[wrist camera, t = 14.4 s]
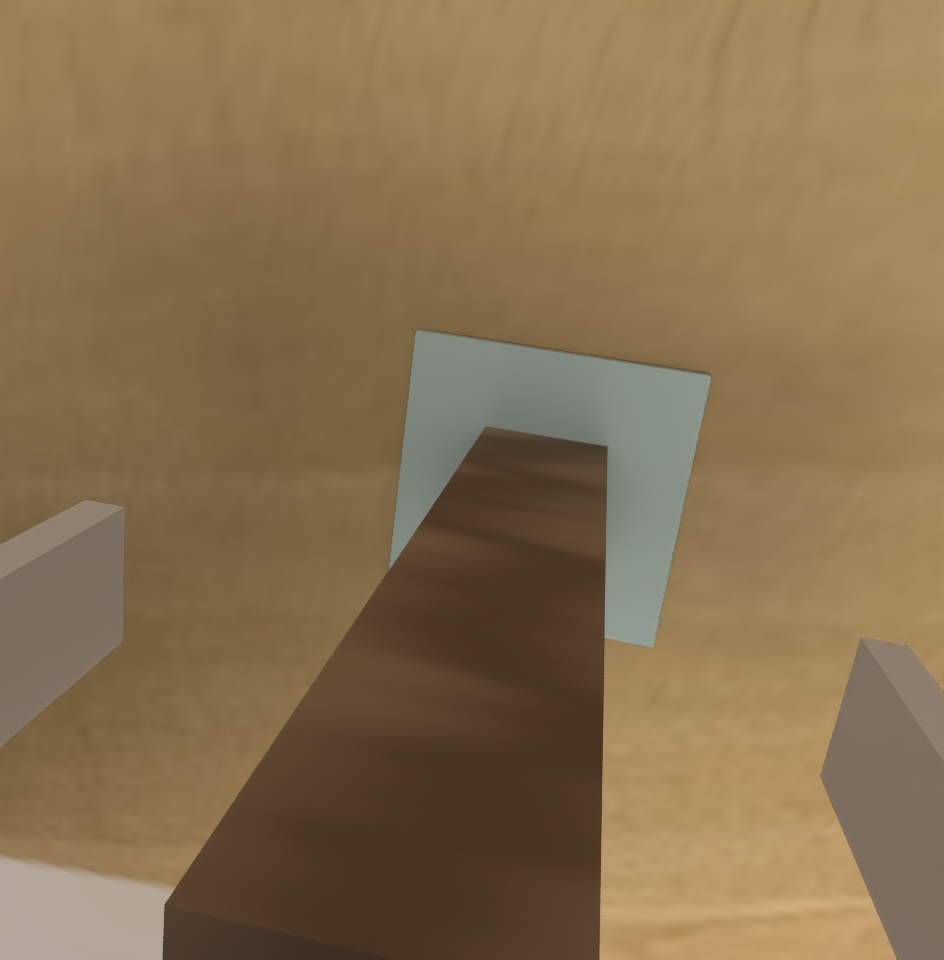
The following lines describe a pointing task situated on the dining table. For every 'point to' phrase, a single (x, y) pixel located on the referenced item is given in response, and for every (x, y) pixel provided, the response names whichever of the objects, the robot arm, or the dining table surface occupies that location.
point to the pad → (572, 416)
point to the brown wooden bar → (437, 746)
